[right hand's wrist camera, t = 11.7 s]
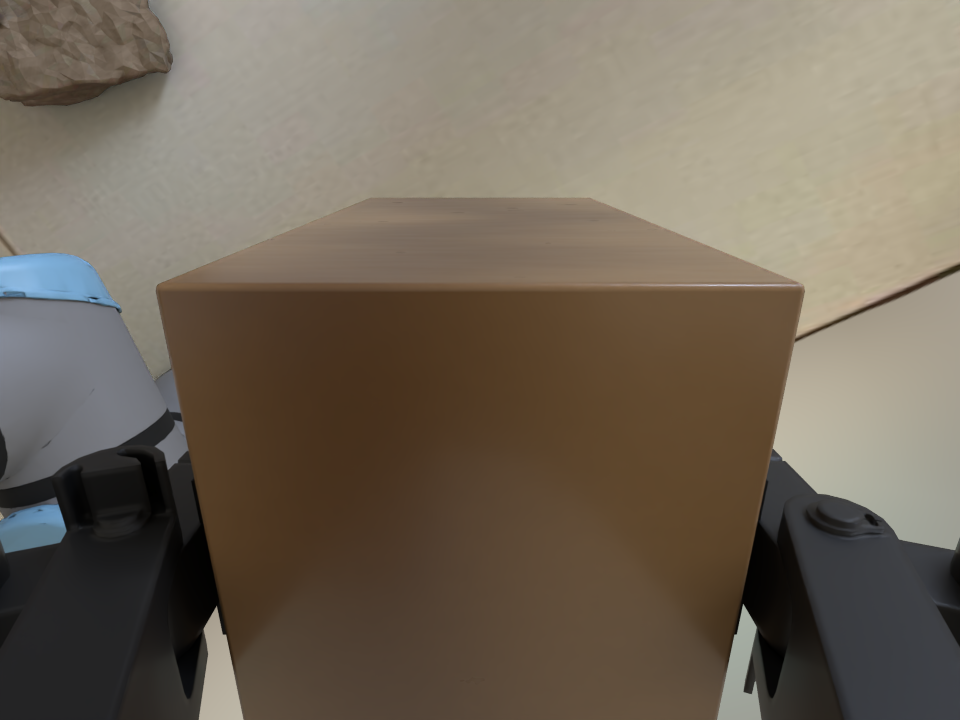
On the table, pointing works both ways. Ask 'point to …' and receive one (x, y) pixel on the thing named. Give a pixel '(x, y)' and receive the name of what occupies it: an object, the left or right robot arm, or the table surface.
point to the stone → (76, 48)
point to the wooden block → (480, 458)
